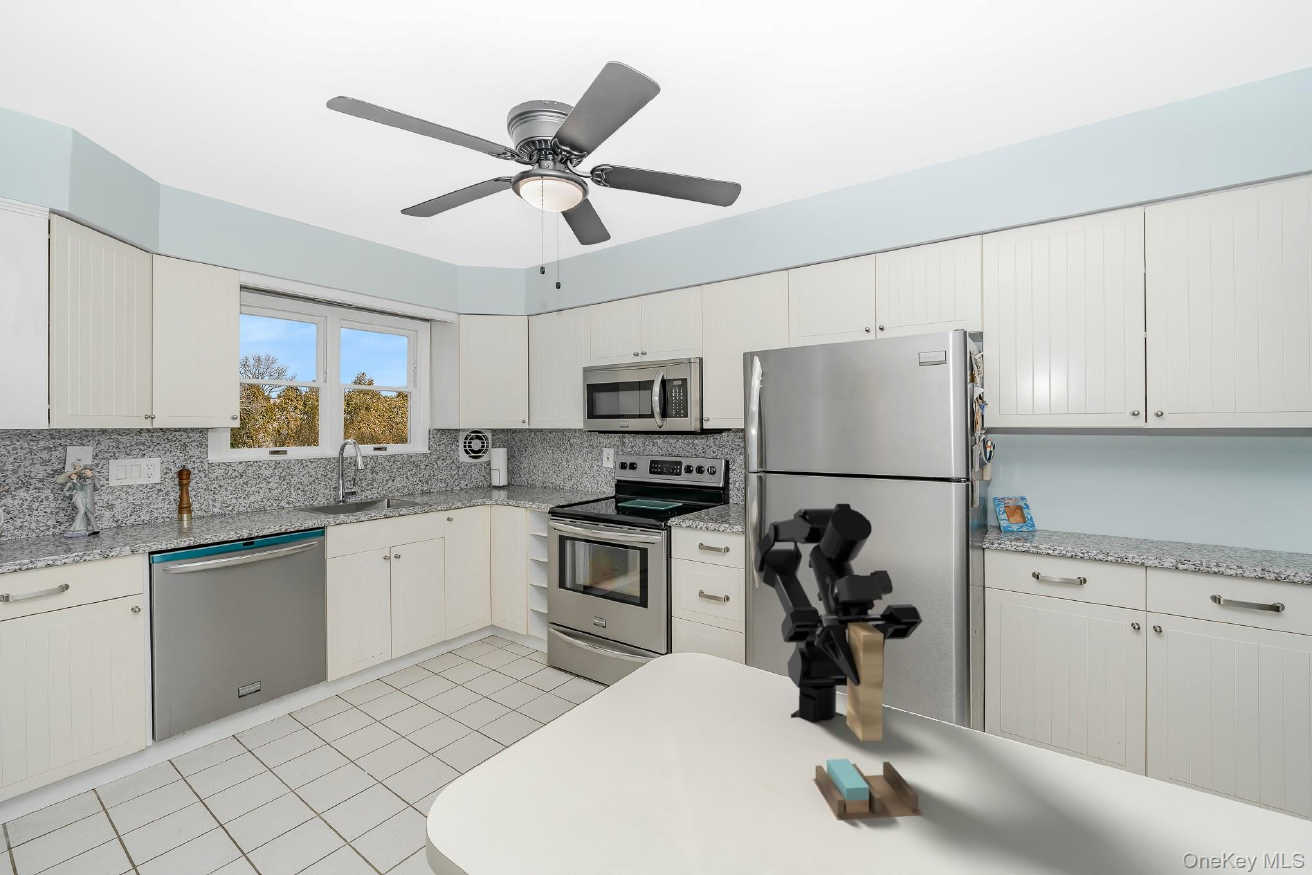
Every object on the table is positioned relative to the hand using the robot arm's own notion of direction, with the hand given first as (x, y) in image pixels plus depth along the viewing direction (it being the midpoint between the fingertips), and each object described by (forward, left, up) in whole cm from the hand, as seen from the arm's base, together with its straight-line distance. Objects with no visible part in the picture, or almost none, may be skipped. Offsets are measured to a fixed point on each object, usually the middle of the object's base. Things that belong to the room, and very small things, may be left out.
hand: (869, 684), depth 75 cm
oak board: (-1, -1, -7) cm, 7 cm away
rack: (+4, +1, -13) cm, 14 cm away
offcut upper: (+6, 0, -11) cm, 12 cm away
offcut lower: (+6, 0, -12) cm, 14 cm away
